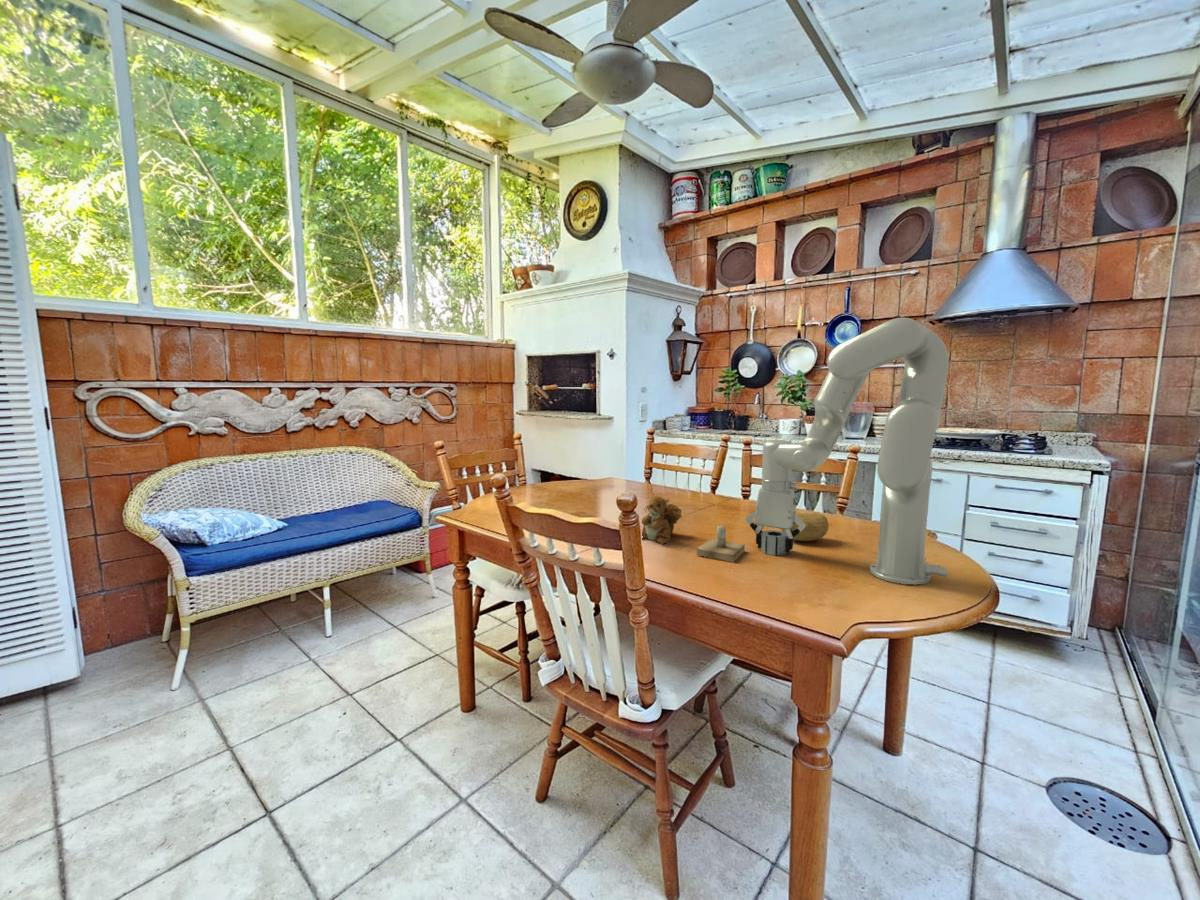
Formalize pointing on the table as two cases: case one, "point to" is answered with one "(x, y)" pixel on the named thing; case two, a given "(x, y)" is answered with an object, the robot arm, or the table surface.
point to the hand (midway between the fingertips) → (774, 548)
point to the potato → (811, 527)
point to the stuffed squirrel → (660, 519)
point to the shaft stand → (721, 547)
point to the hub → (773, 542)
